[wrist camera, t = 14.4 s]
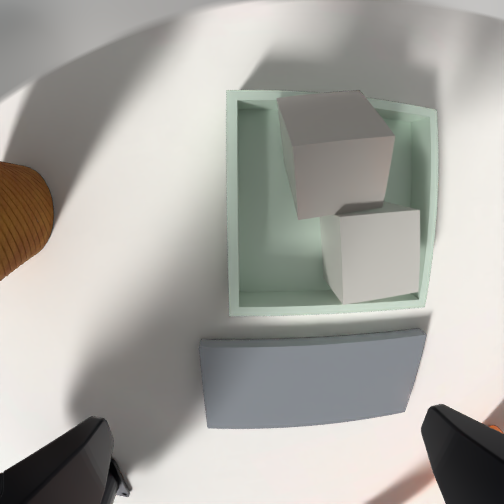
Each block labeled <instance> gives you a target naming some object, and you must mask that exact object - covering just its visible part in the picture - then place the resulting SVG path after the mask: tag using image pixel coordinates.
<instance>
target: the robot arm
mask: <svg viewBox="0 0 504 504" xmlns="http://www.w3.org/2000/svg"><path fill="white" fill-rule="evenodd" d="M421 433H422V437H423V440H424V443H425V447H426V450H427V453H428V457H429V460H430V464H431V467H432V470H433V473H434V476H435V478H436V481H437V483H438V486H439V488H440V490H441V493H442V495H443V498H444V500H445V503H446V504H504V434H503V433H501V432H499V431H497V430H495V429H493V428H490V427H488V426H486V425H484V424H482V423H480V422H478V421H476V420H474V419H472V418H470V417H468V416H466V415H464V414H462V413H460V412H458V411H456V410H454V409H452V408H450V407H448V406H446V405H444V404H438V405H435V406H431V407H430V408H429V409H428V411H427V414H426V416H425V419H424V422H423V424H422V427H421ZM113 444H114V441H113V437H112V434H111V431H110V429H109V426H108V423H107V421H106V420H105V419H104V418H101V417H95V416H91V417H89V418H88V419H86V420H85V421H83V422H82V423H80V424H78V425H77V426H75V427H74V428H72V429H71V430H69V431H68V432H66V433H65V434H63V435H62V436H60V437H58V438H57V439H55V440H54V441H52V442H51V443H49V444H47V445H46V446H44V447H43V448H41V449H39V450H38V451H36V452H35V453H33V454H31V455H30V456H28V457H27V458H25V459H23V460H22V461H20V462H18V463H17V464H15V465H13V466H12V467H10V468H8V469H7V470H5V471H4V472H3V473H0V504H113V502H114V499H115V496H116V495H120V496H125V497H129V495H130V492H129V490H128V488H127V486H126V484H125V482H124V480H123V477H122V475H121V473H120V471H119V469H118V467H117V464H116V462H115V460H113V459H112V458H111V455H112V450H113Z"/></svg>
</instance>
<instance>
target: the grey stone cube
mask: <svg viewBox="0 0 504 504" xmlns="http://www.w3.org/2000/svg"><path fill="white" fill-rule="evenodd" d="M276 100H277V108H278V116H279V124H280V132H281V141H282V149H283V158H284V166H285V170H286V173H287V177H288V181H289V185H290V189H291V193H292V197H293V201H294V205H295V209H296V213H297V218H298V220H302V219H309V218H315V217H322V216H328V215H335V214H342V213H349V212H355V211H362V210H369V209H376V208H382V207H383V202H384V197H385V192H386V187H387V182H388V176H389V171H390V165H391V159H392V153H393V147H394V140H395V135H394V134H393V132H392V131H391V130H390V128H389V127H388V125H387V124H386V123H385V121H384V120H383V119H382V117H381V116H380V115H379V114H378V112H377V111H376V110H375V108H374V107H373V106H372V105H371V103H370V102H369V101H368V100H367V98H366V97H365V96H364V95H363V94H362V92H361V91H360V90H355V91H339V92H327V93H316V94H306V95H297V96H289V97H281V98H276Z"/></svg>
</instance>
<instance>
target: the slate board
mask: <svg viewBox="0 0 504 504" xmlns="http://www.w3.org/2000/svg"><path fill="white" fill-rule="evenodd" d="M426 335H427V334H426V333H425V332H424V331H422V330H421V329H420V328H419V329H410V330H401V331H392V332H382V333H371V334H359V335H346V336H331V337H313V338H290V339H248V340H213V339H201V342H200V346H199V351H200V362H201V373H202V383H203V392H204V401H205V410H206V418H207V427H208V428H217V429H260V428H285V427H300V426H312V425H323V424H332V423H341V422H348V421H356V420H362V419H369V418H375V417H381V416H386V415H392V414H397V413H402V412H405V410H406V407H407V404H408V401H409V398H410V394H411V391H412V388H413V385H414V381H415V378H416V374H417V371H418V367H419V363H420V360H421V356H422V352H423V348H424V344H425V340H426Z"/></svg>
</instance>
